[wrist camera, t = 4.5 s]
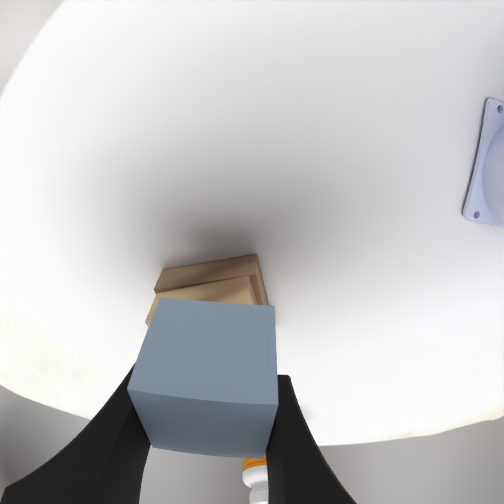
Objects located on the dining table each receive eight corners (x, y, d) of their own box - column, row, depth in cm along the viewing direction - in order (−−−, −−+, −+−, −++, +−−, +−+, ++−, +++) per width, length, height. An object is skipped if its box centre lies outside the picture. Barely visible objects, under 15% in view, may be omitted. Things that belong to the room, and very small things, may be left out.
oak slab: (248, 275, 17) (247, 305, 15) (271, 344, 20) (271, 374, 18) (157, 292, 18) (145, 321, 16) (190, 355, 20) (184, 384, 18)
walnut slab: (256, 250, 19) (255, 273, 17) (273, 323, 22) (274, 349, 20) (164, 266, 20) (153, 289, 18) (193, 333, 23) (187, 358, 21)
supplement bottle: (234, 411, 28) (227, 503, 19) (284, 396, 26) (288, 496, 18) (262, 432, 30) (261, 514, 22) (308, 420, 28) (315, 506, 20)
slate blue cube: (274, 305, 11) (278, 404, 7) (263, 375, 13) (263, 458, 10) (160, 296, 11) (126, 388, 7) (171, 367, 13) (152, 447, 9)
